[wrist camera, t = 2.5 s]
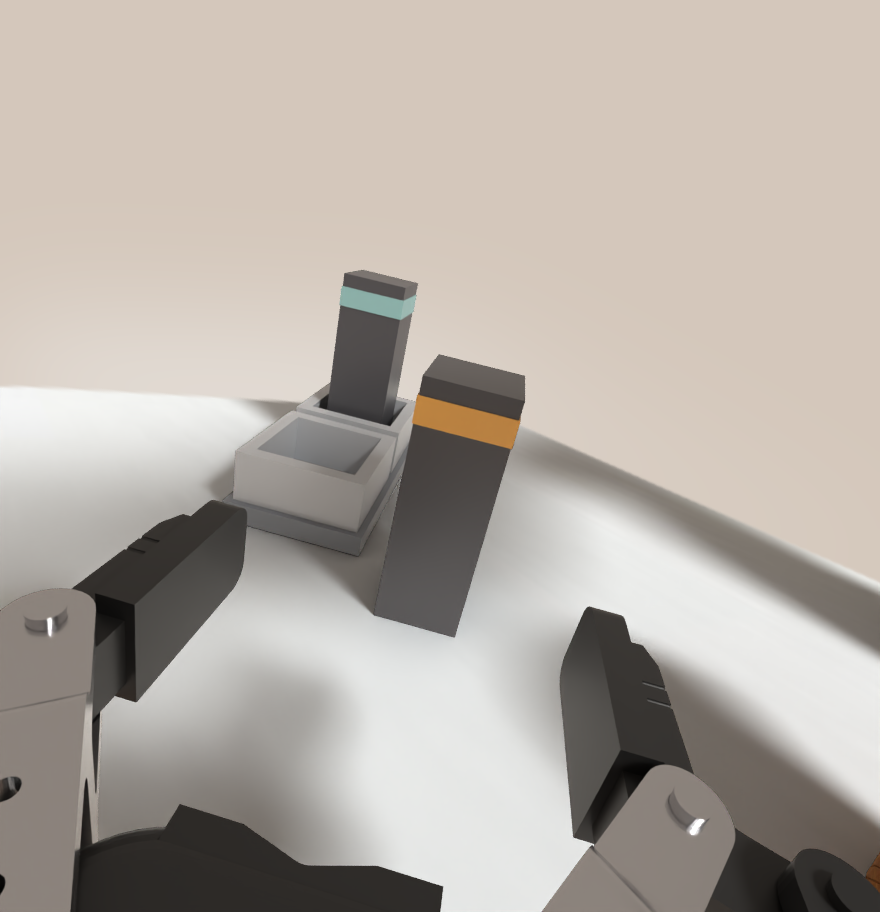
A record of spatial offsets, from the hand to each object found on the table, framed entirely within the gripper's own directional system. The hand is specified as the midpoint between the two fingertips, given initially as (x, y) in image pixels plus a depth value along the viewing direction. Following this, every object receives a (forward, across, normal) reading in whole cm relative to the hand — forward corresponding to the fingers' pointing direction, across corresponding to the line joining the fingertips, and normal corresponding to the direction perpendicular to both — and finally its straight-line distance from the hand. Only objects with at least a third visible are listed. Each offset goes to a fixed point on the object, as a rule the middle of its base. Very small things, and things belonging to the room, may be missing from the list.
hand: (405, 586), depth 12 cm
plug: (+12, 0, +10) cm, 15 cm away
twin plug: (+26, +8, +8) cm, 28 cm away
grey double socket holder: (+22, +8, +9) cm, 25 cm away
